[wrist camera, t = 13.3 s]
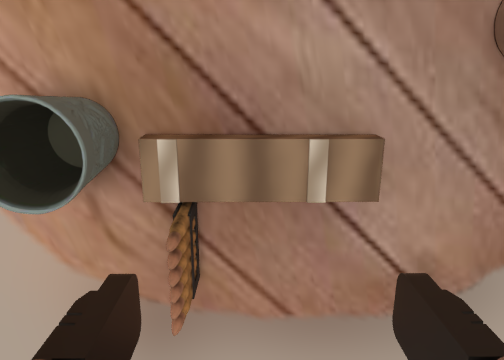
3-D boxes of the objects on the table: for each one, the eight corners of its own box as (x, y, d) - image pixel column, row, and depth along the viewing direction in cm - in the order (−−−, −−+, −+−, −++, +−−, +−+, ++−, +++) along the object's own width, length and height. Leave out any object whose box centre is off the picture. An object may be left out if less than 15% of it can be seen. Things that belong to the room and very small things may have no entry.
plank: (375, 134, 43) (385, 139, 39) (370, 193, 44) (379, 202, 41) (145, 134, 42) (137, 139, 39) (150, 193, 44) (142, 203, 41)
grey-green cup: (18, 126, 42) (-69, 146, 30) (83, 68, 40) (18, 66, 29) (83, 194, 44) (25, 237, 33) (147, 142, 43) (110, 168, 31)
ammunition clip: (199, 277, 47) (184, 343, 36) (184, 277, 47) (165, 343, 36) (196, 197, 44) (179, 240, 33) (180, 197, 44) (157, 240, 33)
